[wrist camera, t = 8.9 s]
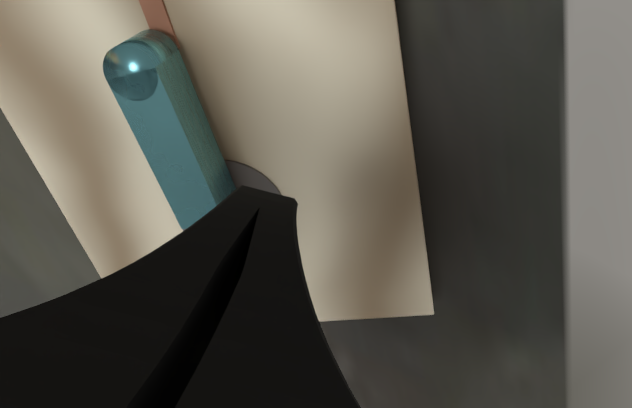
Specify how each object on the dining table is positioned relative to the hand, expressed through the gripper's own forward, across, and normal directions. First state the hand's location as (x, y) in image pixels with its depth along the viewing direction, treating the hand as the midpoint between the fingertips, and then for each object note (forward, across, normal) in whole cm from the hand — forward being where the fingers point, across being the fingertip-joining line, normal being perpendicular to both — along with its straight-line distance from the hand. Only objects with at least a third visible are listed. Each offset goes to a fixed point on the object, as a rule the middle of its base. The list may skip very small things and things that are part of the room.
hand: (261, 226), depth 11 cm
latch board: (+9, +3, +4) cm, 11 cm away
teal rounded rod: (+7, +4, +3) cm, 9 cm away
